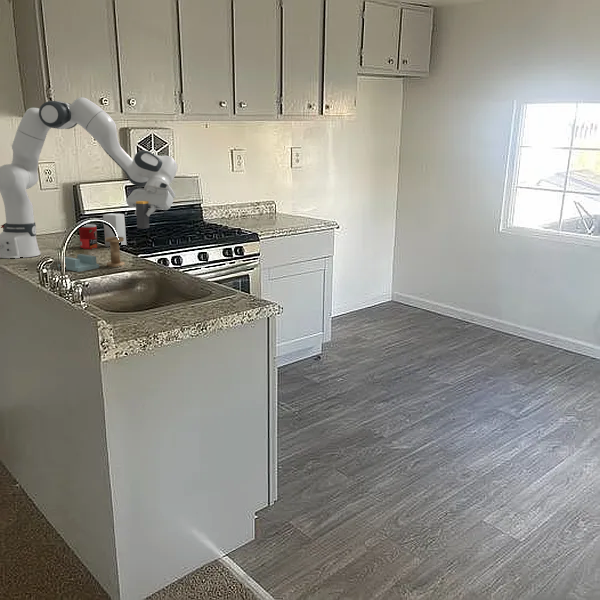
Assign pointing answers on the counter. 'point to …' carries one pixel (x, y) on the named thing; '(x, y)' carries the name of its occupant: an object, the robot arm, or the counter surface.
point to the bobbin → (115, 251)
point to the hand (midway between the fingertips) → (141, 215)
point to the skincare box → (115, 226)
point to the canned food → (88, 236)
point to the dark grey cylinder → (142, 214)
